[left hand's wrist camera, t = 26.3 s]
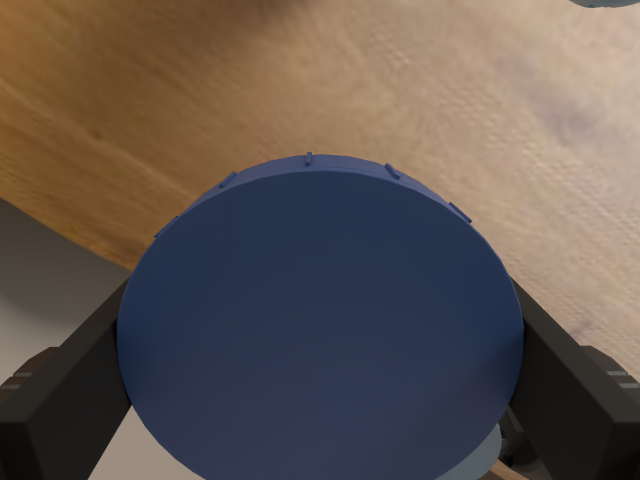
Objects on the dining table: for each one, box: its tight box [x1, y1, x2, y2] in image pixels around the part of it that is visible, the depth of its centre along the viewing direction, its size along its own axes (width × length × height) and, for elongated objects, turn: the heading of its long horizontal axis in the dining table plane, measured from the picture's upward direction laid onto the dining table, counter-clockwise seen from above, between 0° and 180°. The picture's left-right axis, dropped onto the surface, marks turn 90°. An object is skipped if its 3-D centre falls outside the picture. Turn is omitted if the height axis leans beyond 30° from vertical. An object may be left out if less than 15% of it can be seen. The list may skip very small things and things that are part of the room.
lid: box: [116, 152, 524, 480], centre depth 11 cm, size 11×11×2 cm
